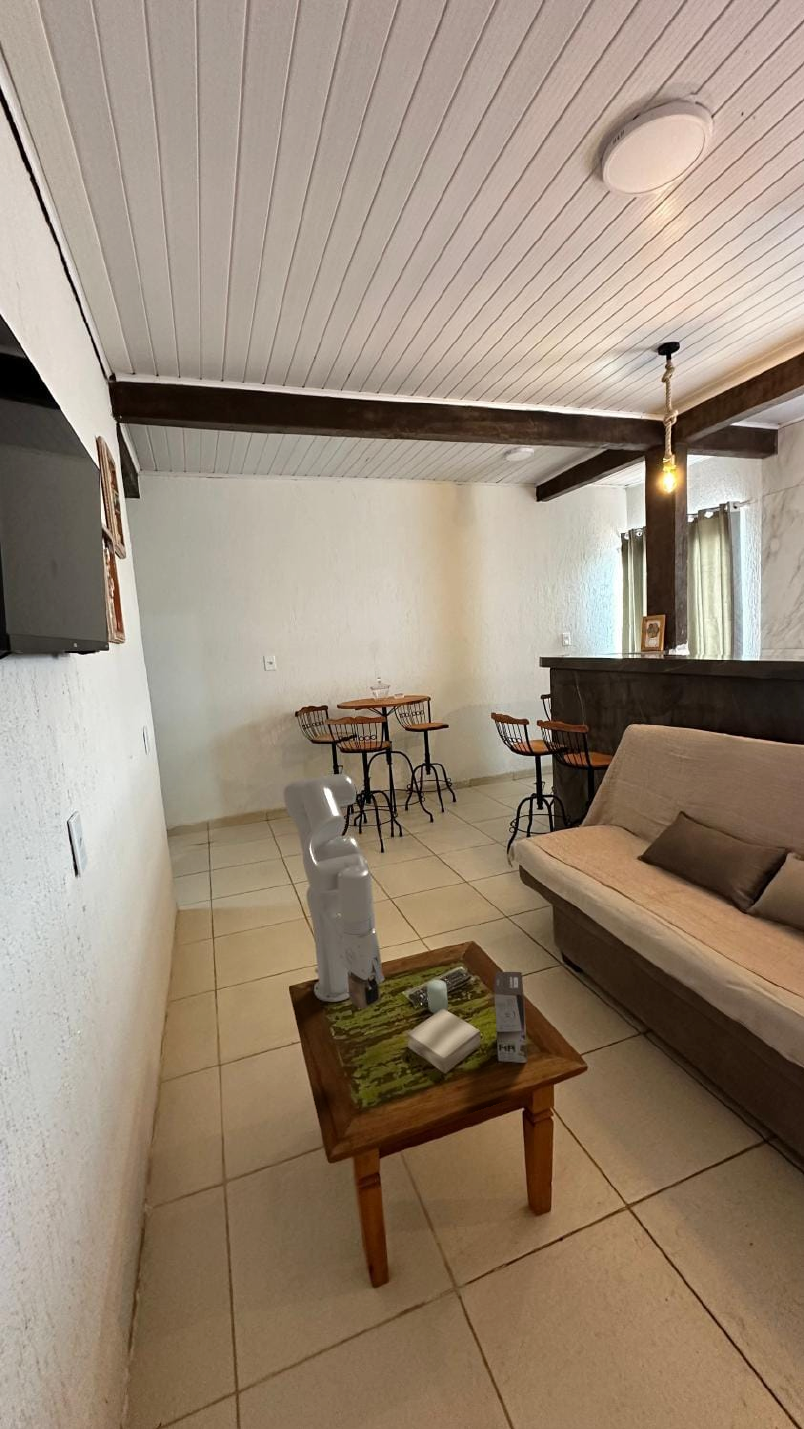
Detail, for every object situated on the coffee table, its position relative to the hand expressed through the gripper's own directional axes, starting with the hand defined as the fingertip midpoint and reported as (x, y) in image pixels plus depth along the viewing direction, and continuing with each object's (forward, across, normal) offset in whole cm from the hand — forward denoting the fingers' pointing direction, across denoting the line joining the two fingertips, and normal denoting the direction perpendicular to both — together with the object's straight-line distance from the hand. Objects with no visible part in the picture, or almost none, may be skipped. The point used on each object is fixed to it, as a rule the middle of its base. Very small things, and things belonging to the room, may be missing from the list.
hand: (364, 996), depth 127 cm
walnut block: (+1, 0, 0) cm, 1 cm away
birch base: (+15, +11, +14) cm, 23 cm away
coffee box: (+15, +23, +24) cm, 36 cm away
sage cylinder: (+15, 0, +23) cm, 27 cm away
